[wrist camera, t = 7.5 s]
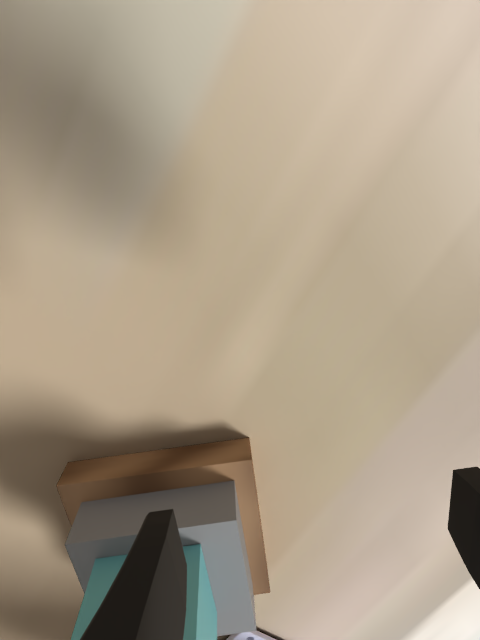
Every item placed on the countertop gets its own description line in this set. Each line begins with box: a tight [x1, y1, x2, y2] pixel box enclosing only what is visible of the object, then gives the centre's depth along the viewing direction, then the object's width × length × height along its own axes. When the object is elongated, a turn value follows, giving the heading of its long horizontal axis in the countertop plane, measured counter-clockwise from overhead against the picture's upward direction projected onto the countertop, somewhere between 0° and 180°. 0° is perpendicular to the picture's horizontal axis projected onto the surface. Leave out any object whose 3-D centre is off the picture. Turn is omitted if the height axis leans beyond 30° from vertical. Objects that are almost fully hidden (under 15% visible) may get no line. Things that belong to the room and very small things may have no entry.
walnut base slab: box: [56, 438, 270, 595], centre depth 24 cm, size 10×10×2 cm
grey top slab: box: [65, 481, 256, 636], centre depth 21 cm, size 8×8×2 cm
